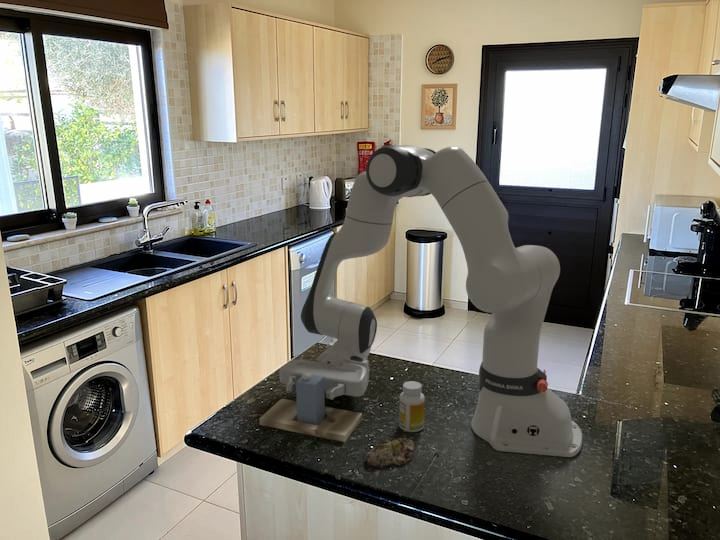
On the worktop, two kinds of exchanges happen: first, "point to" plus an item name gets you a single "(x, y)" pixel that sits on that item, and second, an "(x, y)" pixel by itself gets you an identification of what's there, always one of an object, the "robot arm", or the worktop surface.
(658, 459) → the worktop surface
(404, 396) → the supplement bottle
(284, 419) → the board
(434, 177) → the robot arm
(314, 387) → the block
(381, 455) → the mineral rock
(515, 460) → the worktop surface
